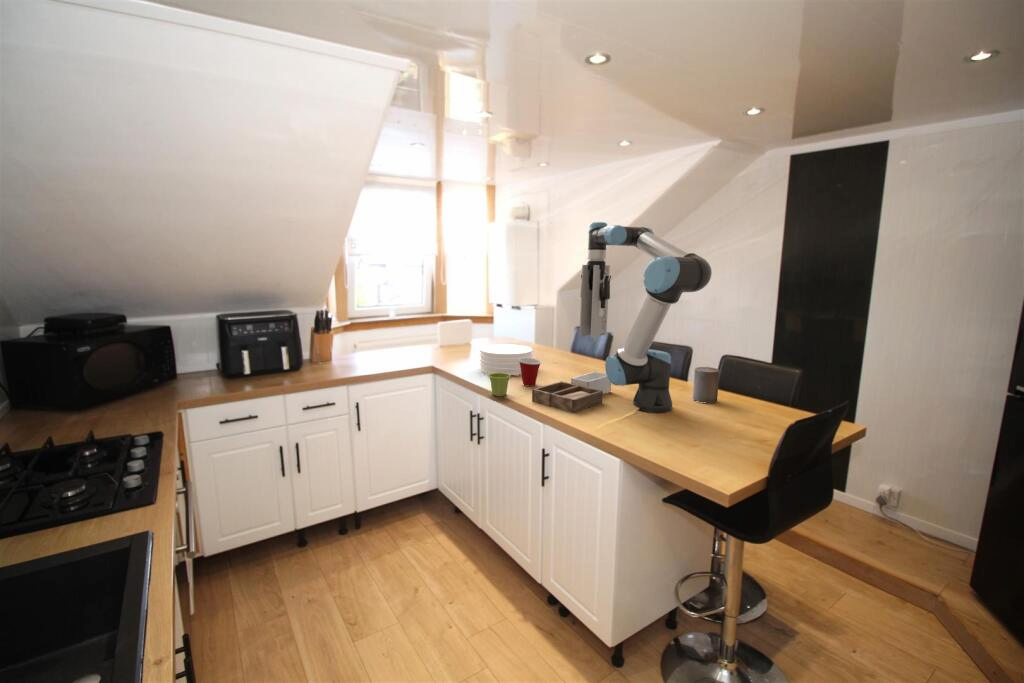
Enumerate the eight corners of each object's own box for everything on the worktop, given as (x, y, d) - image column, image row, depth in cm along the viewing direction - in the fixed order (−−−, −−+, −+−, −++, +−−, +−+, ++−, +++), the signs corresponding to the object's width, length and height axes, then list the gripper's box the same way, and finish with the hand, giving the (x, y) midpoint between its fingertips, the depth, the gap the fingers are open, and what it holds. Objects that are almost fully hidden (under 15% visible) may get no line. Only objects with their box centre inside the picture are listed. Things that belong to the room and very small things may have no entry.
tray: (602, 405, 185) (602, 390, 184) (573, 415, 172) (574, 400, 171) (560, 394, 200) (561, 381, 199) (532, 403, 186) (532, 389, 185)
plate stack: (469, 369, 245) (469, 348, 243) (503, 362, 266) (504, 342, 264) (508, 378, 227) (508, 356, 225) (542, 369, 248) (542, 348, 246)
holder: (610, 392, 205) (611, 374, 204) (587, 400, 192) (588, 381, 191) (594, 388, 211) (595, 371, 210) (570, 396, 198) (571, 378, 197)
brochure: (591, 338, 190) (594, 265, 185) (579, 336, 194) (582, 264, 189) (606, 334, 201) (609, 265, 196) (595, 333, 205) (598, 265, 200)
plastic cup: (537, 388, 209) (538, 363, 207) (515, 386, 212) (515, 361, 210) (543, 383, 219) (544, 358, 217) (522, 381, 222) (522, 356, 220)
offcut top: (595, 399, 183) (596, 395, 183) (571, 405, 175) (571, 401, 175) (581, 395, 190) (581, 390, 189) (556, 401, 181) (556, 396, 181)
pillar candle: (720, 400, 195) (722, 365, 192) (713, 405, 187) (716, 369, 185) (696, 396, 201) (699, 362, 198) (689, 401, 193) (691, 366, 191)
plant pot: (487, 391, 203) (488, 372, 201) (509, 391, 204) (509, 372, 202) (488, 397, 193) (489, 377, 192) (511, 397, 194) (511, 377, 193)
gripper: (621, 260, 188) (618, 316, 192) (583, 260, 201) (581, 312, 205) (611, 260, 183) (608, 317, 187) (572, 260, 196) (570, 314, 200)
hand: (594, 315), depth 196 cm, fingers closed on brochure, 6 cm apart
